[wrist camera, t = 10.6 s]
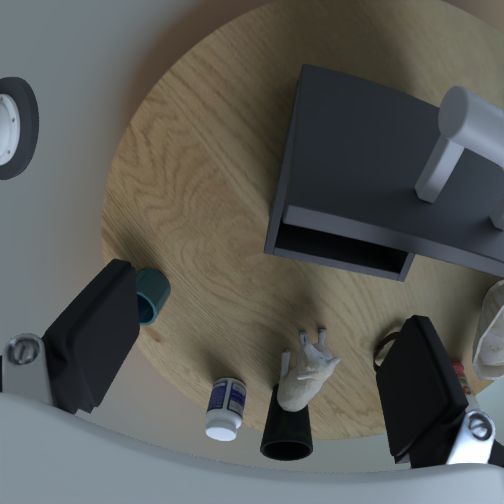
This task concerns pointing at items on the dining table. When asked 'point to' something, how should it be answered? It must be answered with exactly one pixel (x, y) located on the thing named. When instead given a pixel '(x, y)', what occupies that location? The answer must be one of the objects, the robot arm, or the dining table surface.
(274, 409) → the cup
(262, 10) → the dining table surface
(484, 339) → the bowl
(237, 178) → the dining table surface
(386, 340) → the watch
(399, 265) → the dark gray hinged chest
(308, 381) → the figurine
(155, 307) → the creamer cup
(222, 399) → the pill bottle
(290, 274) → the dining table surface
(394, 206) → the chest lid
